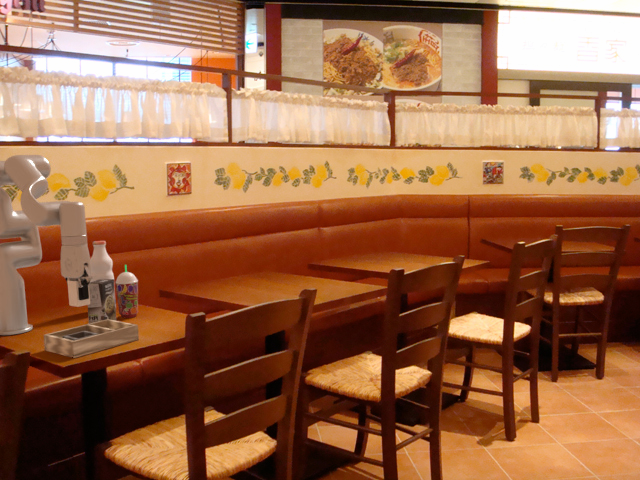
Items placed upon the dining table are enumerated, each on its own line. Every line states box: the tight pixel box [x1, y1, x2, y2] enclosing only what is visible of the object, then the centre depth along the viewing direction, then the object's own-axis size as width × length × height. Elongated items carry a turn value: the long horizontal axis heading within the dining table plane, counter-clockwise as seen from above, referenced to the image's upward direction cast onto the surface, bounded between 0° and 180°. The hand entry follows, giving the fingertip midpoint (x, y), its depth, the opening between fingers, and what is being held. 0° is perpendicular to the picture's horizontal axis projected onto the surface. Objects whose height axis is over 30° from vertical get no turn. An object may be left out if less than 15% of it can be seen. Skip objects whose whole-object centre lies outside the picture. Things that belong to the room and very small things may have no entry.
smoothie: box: [114, 264, 139, 319], centre depth 253 cm, size 8×8×20 cm
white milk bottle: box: [90, 240, 117, 307], centre depth 263 cm, size 9×9×28 cm
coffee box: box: [87, 278, 117, 324], centre depth 241 cm, size 9×6×16 cm
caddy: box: [43, 319, 139, 359], centre depth 215 cm, size 16×24×5 cm, turn 144°
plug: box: [66, 276, 90, 308], centre depth 209 cm, size 4×4×9 cm
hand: (79, 298), depth 210 cm, fingers closed on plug, 4 cm apart
